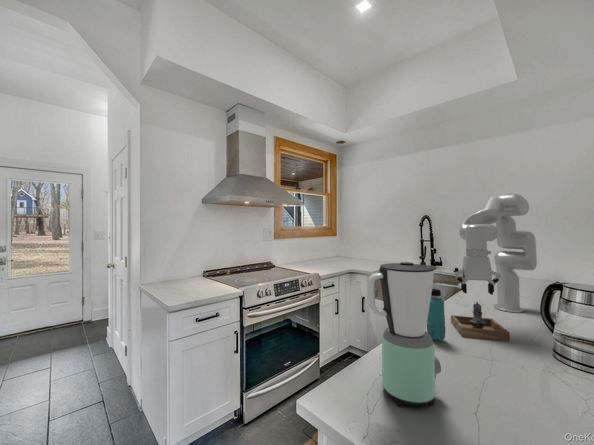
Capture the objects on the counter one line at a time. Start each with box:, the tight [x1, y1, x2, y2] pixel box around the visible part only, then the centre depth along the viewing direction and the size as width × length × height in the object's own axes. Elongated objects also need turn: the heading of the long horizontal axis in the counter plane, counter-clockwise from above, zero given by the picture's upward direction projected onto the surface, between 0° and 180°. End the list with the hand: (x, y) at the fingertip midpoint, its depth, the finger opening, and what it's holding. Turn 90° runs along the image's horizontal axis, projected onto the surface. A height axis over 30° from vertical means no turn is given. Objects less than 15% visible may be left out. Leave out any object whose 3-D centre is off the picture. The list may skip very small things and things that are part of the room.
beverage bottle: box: [426, 288, 446, 341], centre depth 104 cm, size 6×7×20 cm
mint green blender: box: [367, 261, 442, 408], centre depth 70 cm, size 19×13×35 cm
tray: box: [450, 315, 511, 342], centre depth 113 cm, size 16×16×4 cm
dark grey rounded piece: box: [470, 301, 486, 329], centre depth 113 cm, size 6×6×12 cm
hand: (477, 293), depth 113 cm, fingers open, 9 cm apart
